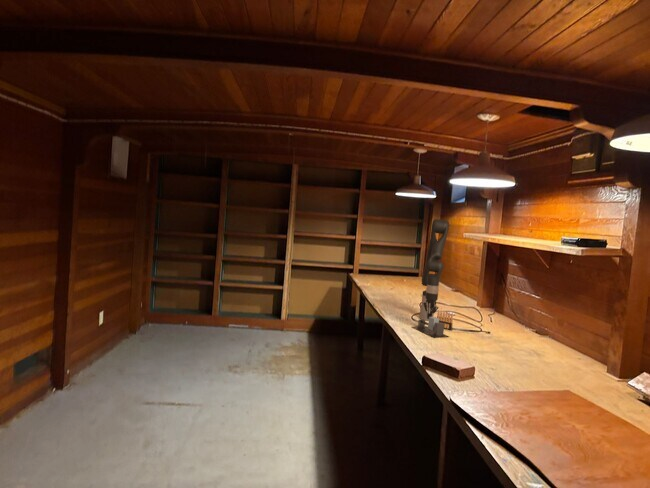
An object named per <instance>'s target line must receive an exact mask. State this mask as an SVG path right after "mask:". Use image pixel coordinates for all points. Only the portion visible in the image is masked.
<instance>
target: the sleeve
mask: <svg viewBox="0 0 650 488" xmlns="http://www.w3.org/2000/svg"><path fill="white" fill-rule="evenodd" d="M439 319H440V318H439ZM439 319H438V318H437V316H433V317H429V321H427V323H428V325H427V327H428V329H430V330H432V331H434V324H435V323H439Z"/></svg>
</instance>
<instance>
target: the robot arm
mask: <svg viewBox="0 0 650 488" xmlns="http://www.w3.org/2000/svg"><path fill="white" fill-rule="evenodd" d="M449 229H450V222H449V220H444V219H438V218H435V219H433V220H432V223H431V230H430V236H429V237H430V238H429V243H428V248H427V252H426V258H425V264H424V269H423V273H422V277H421V285H422V286H424V287H426V289H425V290H423V291H422V296H421V304H420V309H419V318H420V319H419V320H421V319H424V320H425V321H427V322H429V317H435V313H436V312H438V310H439V306H437V301H438V299H439V291H440V290H439V286H440V285H439V284H440V279H441V275H442V272H443V270H444V267H445V266H444V263H443V261H441V260H442V258H443V253H444V248H445V244H446V241H447V236H448V233H449ZM436 234H441V237H440V238H438V239H437V235H436ZM431 272H432V273H431Z"/></svg>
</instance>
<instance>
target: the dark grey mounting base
mask: <svg viewBox="0 0 650 488" xmlns="http://www.w3.org/2000/svg"><path fill="white" fill-rule="evenodd" d="M411 328H412V329H414V330H416V331H418V332H420V333H422V334H424V335H426V336H429V337H430V338H433V339H437V338H438V339H439V338H440V339H441V338H442V339H443V338H450V336H449V335H446V334H444V330H445V329H444V324H443V323H435V324H434V331H432V330H430V329H428V321H427V322H426V320H424V319H418V320H417V326H411Z"/></svg>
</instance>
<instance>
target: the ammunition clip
mask: <svg viewBox="0 0 650 488" xmlns="http://www.w3.org/2000/svg"><path fill="white" fill-rule="evenodd" d="M436 318H438V319H439V323H443V324H444V330H445V331H449V332H451V331H453V322H454V313H453V312H451V311H449V312H448V311H445V310H444V311H443V310H442V309H441V310H440V309H437V315H436Z"/></svg>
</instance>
